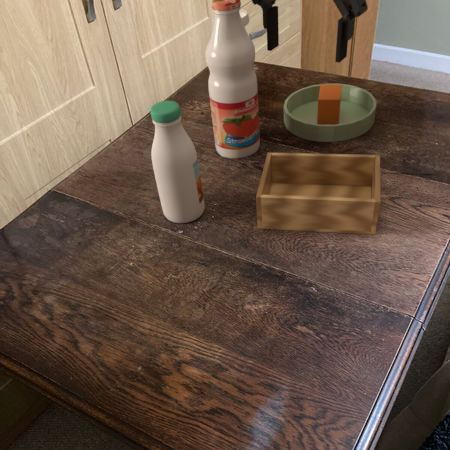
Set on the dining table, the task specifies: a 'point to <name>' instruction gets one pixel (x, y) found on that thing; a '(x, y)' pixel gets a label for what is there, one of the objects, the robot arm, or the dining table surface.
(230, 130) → the fruit juice
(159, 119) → the milk bottle
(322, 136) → the bowl
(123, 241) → the dining table surface
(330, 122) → the box
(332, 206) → the holder
